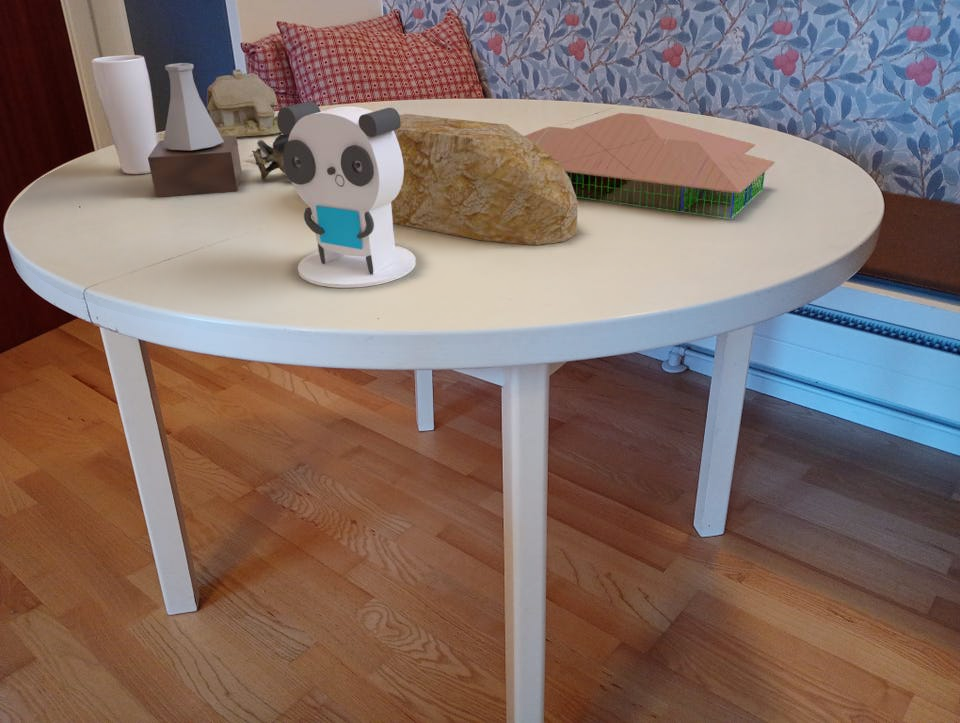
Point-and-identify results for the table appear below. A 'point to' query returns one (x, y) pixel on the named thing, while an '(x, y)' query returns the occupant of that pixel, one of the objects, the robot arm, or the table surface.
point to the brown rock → (481, 183)
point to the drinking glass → (127, 108)
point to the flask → (187, 113)
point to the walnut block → (196, 169)
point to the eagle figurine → (271, 155)
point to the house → (656, 157)
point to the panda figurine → (347, 191)
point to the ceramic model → (242, 105)
